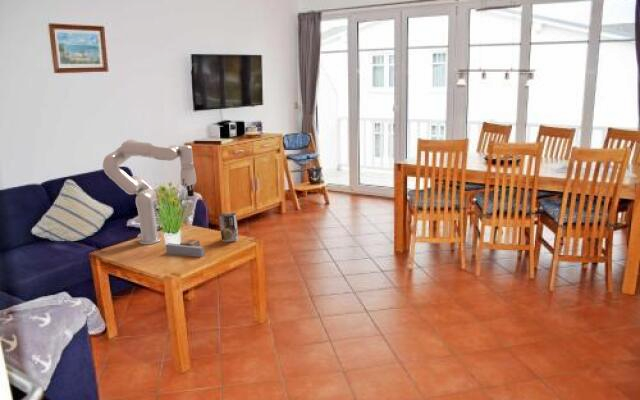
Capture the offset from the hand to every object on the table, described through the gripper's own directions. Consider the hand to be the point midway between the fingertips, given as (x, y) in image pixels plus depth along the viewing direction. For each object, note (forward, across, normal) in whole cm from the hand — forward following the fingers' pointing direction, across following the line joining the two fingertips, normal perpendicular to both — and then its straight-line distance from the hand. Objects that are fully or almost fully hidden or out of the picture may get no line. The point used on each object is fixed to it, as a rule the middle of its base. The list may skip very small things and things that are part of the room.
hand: (190, 195), depth 326 cm
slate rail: (+27, +26, +11) cm, 39 cm away
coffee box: (+27, -3, +23) cm, 36 cm away
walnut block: (+27, +20, +11) cm, 36 cm away
